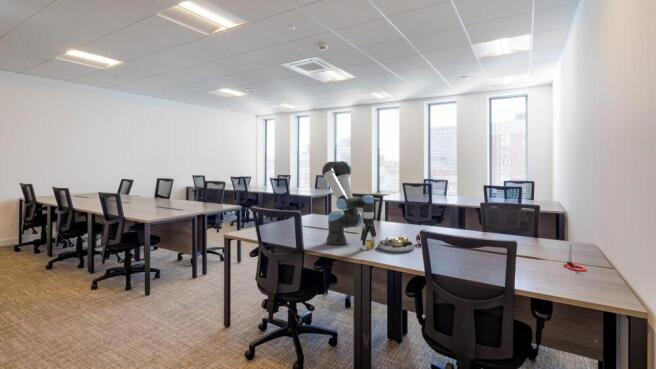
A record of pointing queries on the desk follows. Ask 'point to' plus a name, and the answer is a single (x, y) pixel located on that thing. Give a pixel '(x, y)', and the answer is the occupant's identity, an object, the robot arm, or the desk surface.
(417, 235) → the brake caliper
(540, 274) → the desk surface
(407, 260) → the desk surface
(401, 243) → the carrier plate
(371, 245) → the planet gear
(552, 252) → the desk surface
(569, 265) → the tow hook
